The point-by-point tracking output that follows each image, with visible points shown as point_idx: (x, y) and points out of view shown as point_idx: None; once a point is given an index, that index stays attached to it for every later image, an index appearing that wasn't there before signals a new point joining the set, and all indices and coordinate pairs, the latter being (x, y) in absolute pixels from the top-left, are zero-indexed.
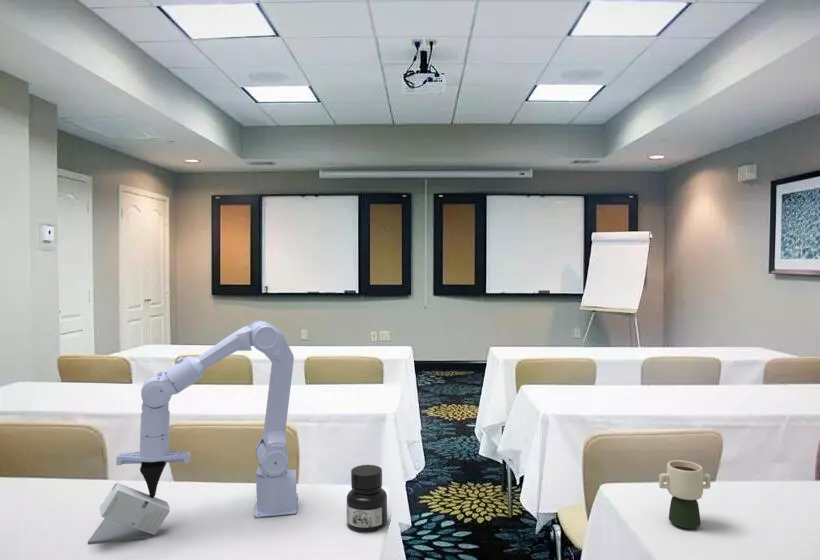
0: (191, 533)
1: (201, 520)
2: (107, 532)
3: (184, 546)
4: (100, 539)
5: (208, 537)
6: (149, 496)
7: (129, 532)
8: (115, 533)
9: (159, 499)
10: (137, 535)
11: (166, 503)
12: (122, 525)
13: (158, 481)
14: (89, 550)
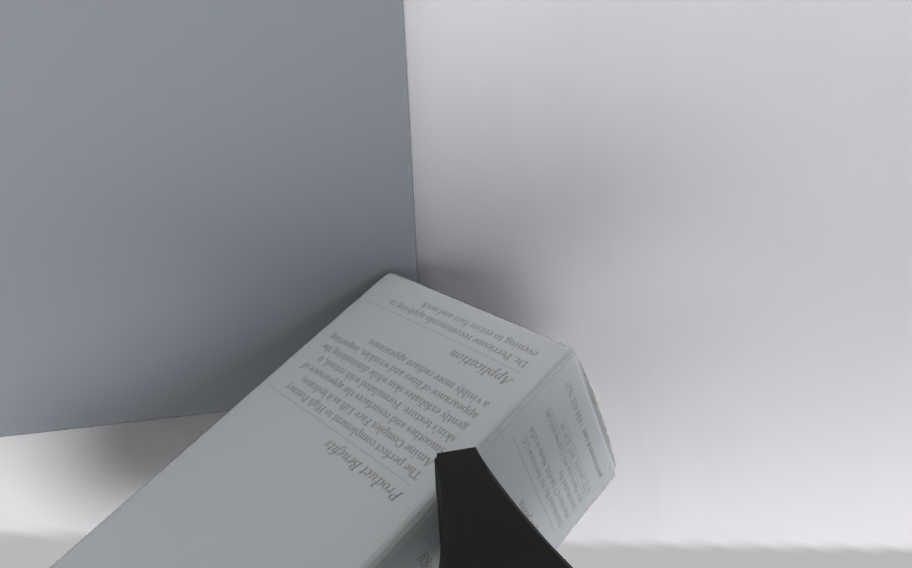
0: (697, 338)
1: (774, 135)
2: (15, 313)
3: (660, 483)
4: (33, 418)
5: (800, 396)
6: (436, 551)
7: (226, 330)
8: (106, 337)
9: (517, 434)
10: None
11: (579, 403)
12: (83, 195)
13: (553, 549)
14: (35, 502)
